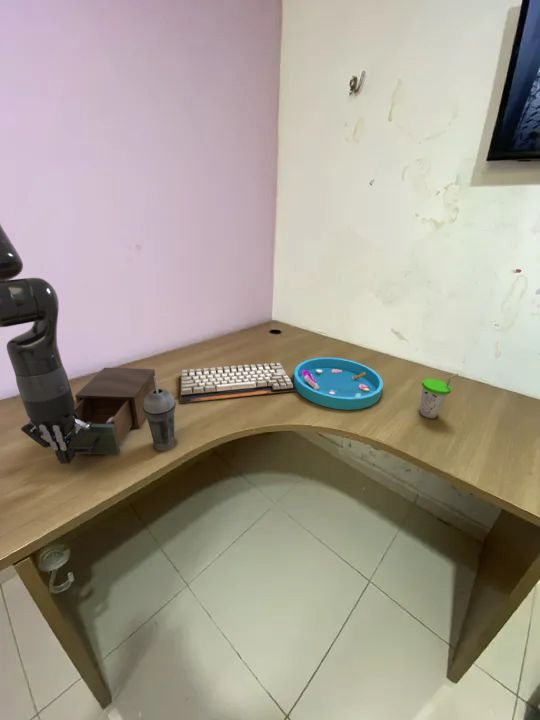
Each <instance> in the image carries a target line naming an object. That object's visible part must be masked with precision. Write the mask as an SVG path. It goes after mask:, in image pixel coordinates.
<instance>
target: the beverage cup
mask: <svg viewBox="0 0 540 720" xmlns="http://www.w3.org/2000/svg"><path fill="white" fill-rule="evenodd" d="M154 383H155V390H153V391H151V392H150V393H148V395H147V396H146V398H145V400H144V406H143V410H144V412H145V415H146V419H147V423H148V426H149V430H150V433H151V438H152V441H153V444H154V448H155V449H156V450H157V451H160V452H161V451H162V452H163V451H164V452H165V451H169V450H170V449H171V448H173V447H174V445H175V412H176V405H177V403H176V401H175V397H174V396H173V394H172V392H171V391H169V390H166V389H163V388H158V381H157V376H156V375H155V376H154Z"/></svg>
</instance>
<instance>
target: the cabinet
mask: <svg viewBox="0 0 540 720" xmlns="http://www.w3.org/2000/svg"><path fill="white" fill-rule="evenodd" d="M154 376H156V371H155V369H154V368H129V367H128V368H127V367H104V368H102V369H101V370H100V371H99V372H98V373H97V374H96V375H95V376H93V378H92V379H91V380H90V381H89V382H87V383H86V384H85V386H84V387H82V388H81V389H80V390H79V391H78V392H77V393H76V394H75V395H74V397H75V400H76V405H77V404H78V403H79V402H80V401H81V400H82V399H83V398H88V399H119V400H131V403H132V409H133V414H134V420H135V422H134V424H133V425H132V427H131V428H130V429H140V428H141V426H142V425H143V423H144V421H145V419H147V417H146V415H145V412H144V410H143V406H144V400H145V398H146V396H147V395H148V393H150V392H151V391H153V390H155V383H154Z"/></svg>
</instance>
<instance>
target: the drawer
mask: <svg viewBox="0 0 540 720" xmlns="http://www.w3.org/2000/svg"><path fill="white" fill-rule="evenodd" d="M74 411H75V412H76V414H77V415H78V416H79V420H80V421H82V422H84V423H86V422H91V423H92V426H91V427H90V429H89V430H88V431H87V433H86V434H85V435H84V437H83V438H82V439H81V441H80V442H79V443H78V444H77V445H76V447H75V448H74V451H75V455H78V454H79V455H107V456H108V455H110V456H111V455H113V456H119V454H120V452H121V449H120V446H121V444H122V442H123V441H124V439H125V438H126V436H127V435H128V433H129V431H131V429H132V428H131V427H132V425H133V424H134V422H135V420H134V414H133V409H132V403H131V400H119V399H88V398H83V399H82V400H81V401H80V402H79V403H78V404H77V403H76V404H75V405H74ZM111 417H113V419H112V420H111V424H105V423H106V422H107V421H108V420H109V418H111ZM75 429H76V427H75V426H74V428H73V434H72V437H73V438H74V437H75V436H76V434H77V433H75V432H76V430H75Z"/></svg>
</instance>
